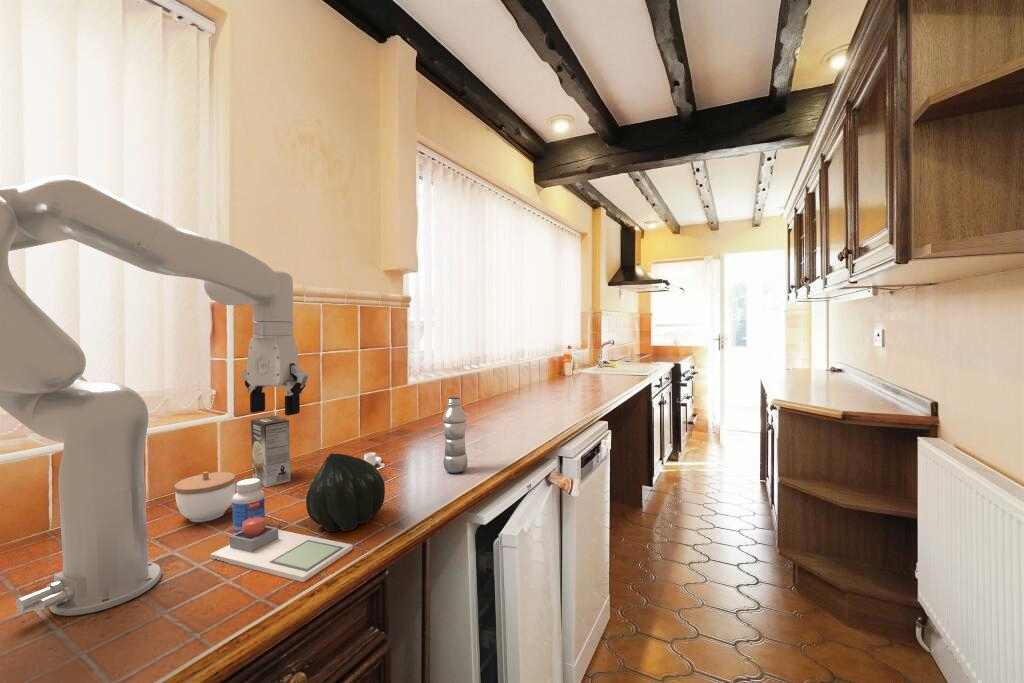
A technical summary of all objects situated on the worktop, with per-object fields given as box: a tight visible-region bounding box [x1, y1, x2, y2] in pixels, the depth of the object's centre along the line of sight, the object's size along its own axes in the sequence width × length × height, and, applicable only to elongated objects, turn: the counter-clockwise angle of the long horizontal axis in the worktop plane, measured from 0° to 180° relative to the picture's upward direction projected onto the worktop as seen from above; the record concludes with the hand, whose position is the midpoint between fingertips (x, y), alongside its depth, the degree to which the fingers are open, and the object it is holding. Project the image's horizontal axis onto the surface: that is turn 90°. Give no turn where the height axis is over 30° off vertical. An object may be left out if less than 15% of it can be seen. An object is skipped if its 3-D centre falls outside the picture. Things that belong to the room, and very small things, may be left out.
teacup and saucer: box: [363, 452, 386, 471], centre depth 128 cm, size 9×8×4 cm
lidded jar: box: [173, 471, 237, 523], centre depth 96 cm, size 11×11×9 cm
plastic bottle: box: [442, 396, 469, 474], centre depth 122 cm, size 6×7×20 cm
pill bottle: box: [231, 477, 266, 535], centre depth 88 cm, size 6×5×10 cm
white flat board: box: [210, 525, 354, 583], centre depth 79 cm, size 11×21×3 cm, turn 68°
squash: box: [305, 452, 386, 532], centre depth 91 cm, size 14×15×15 cm
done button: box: [242, 517, 267, 537], centre depth 81 cm, size 4×4×2 cm
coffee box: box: [250, 415, 291, 488], centre depth 117 cm, size 9×6×16 cm
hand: (274, 413), depth 95 cm, fingers open, 9 cm apart
